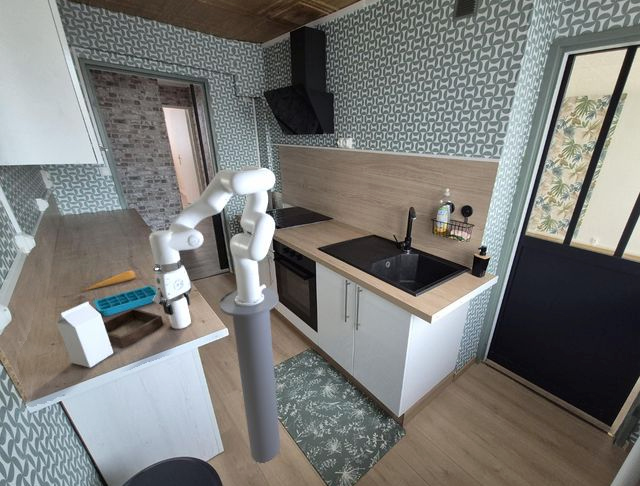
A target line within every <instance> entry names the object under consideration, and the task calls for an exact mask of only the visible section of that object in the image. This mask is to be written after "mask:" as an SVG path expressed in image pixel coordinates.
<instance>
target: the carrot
mask: <svg viewBox="0 0 640 486" xmlns="http://www.w3.org/2000/svg"><path fill="white" fill-rule="evenodd" d="M136 276H137V275H136V273H135V271H133V270H126V271H124V272H122V273H120V274H119V273H118V274H117V275H115V276H112V277H109V278H108V279H105V280H103V281H101V282H98V283H95V284H93V285H92V286H89V287H87V288H86V289H83V290H82V292H83V291H88V290H89V291H90V290H93V289H98V288H102V287H106V286H111V285H115V284H119V283H122V282H127V281H130V280H133V279H135V278H136Z"/></svg>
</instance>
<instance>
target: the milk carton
mask: <svg viewBox="0 0 640 486" xmlns="http://www.w3.org/2000/svg"><path fill="white" fill-rule="evenodd" d="M89 302H90V301H85V302H83V303H81V304H79V305H76V306H73V307H72V308H69V309H67V310H64V311H62V312H61V313H60V316H61V317H60V318H59V319H58V320H57V322H56V326H57V328H58V331H59V333H60V336H61V338H62V341H63V344H64V346H65V349H66V351H67V353H68V356H69V358H70V361H71V363H72V364H75V365H79V366H83V367H86V368H89V369H90V368H92V367H95V366H96V365H97V364H99V363H100V362H102V361H103V360H105V359H107V358H108V357H109V356H112V355H113V354H114V351H113V347H112V344H110V341H109V338H108V335H107V332H106V329H105V326H104V323H103V322H104V321H103V317H102V313H101V312H99V311H98V310H97V309H96V308H95V307H93V306H92V305H91V304H90V303H89Z"/></svg>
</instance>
